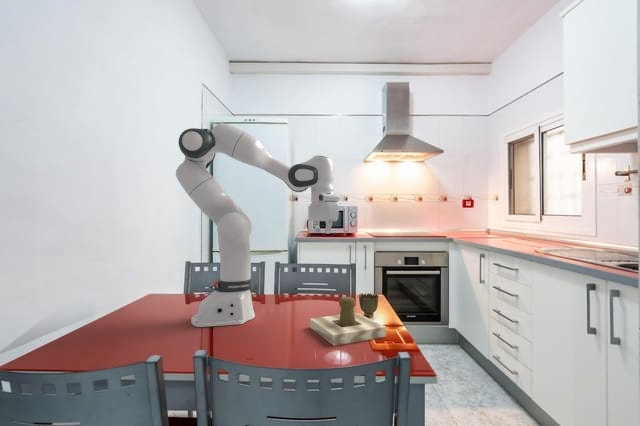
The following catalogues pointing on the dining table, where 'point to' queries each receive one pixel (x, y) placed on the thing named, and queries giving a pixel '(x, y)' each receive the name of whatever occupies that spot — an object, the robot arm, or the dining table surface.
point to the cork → (347, 312)
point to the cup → (368, 304)
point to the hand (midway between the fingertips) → (322, 233)
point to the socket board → (347, 329)
